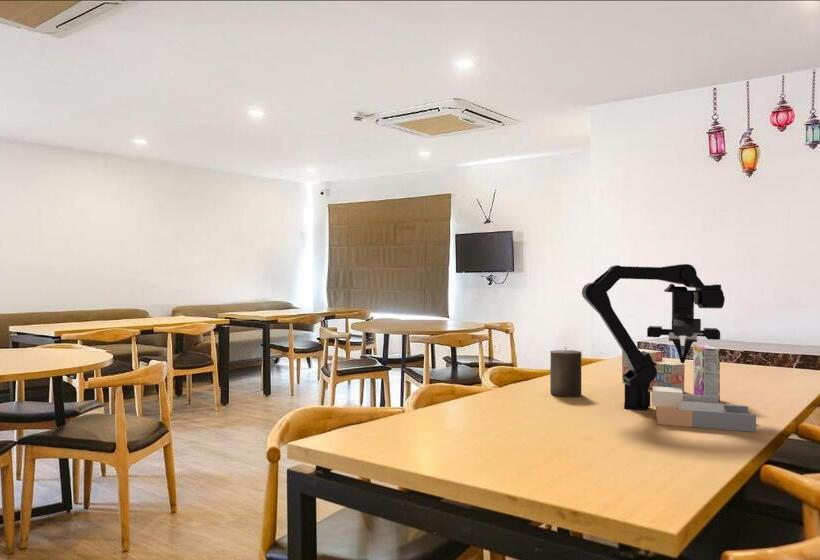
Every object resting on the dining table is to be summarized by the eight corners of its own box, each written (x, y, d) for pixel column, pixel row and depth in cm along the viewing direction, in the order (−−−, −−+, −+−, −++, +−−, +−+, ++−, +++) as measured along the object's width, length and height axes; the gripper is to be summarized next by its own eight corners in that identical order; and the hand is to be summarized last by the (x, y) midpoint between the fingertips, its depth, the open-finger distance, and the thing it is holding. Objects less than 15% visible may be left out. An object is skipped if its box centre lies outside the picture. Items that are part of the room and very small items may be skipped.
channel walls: (679, 409, 151) (679, 401, 151) (675, 400, 162) (676, 393, 162) (723, 412, 147) (723, 404, 147) (717, 403, 158) (717, 396, 158)
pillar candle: (582, 397, 186) (583, 349, 186) (550, 396, 187) (551, 348, 188) (579, 392, 195) (580, 346, 195) (549, 390, 197) (549, 345, 197)
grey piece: (657, 424, 152) (657, 408, 152) (655, 414, 164) (655, 399, 164) (756, 432, 145) (756, 415, 145) (747, 420, 156) (747, 405, 156)
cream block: (653, 406, 155) (653, 390, 155) (652, 401, 162) (652, 386, 162) (682, 408, 153) (682, 392, 153) (680, 402, 159) (680, 387, 159)
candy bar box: (692, 396, 188) (692, 344, 188) (709, 397, 187) (709, 344, 187) (702, 403, 177) (702, 348, 177) (720, 404, 176) (720, 348, 176)
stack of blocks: (685, 392, 195) (685, 354, 195) (671, 393, 193) (671, 355, 193) (634, 381, 215) (634, 347, 215) (621, 383, 212) (621, 348, 212)
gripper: (646, 308, 166) (646, 364, 167) (722, 310, 159) (721, 369, 159) (647, 307, 177) (647, 359, 177) (718, 308, 169) (718, 363, 170)
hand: (682, 363), depth 170 cm, fingers closed
